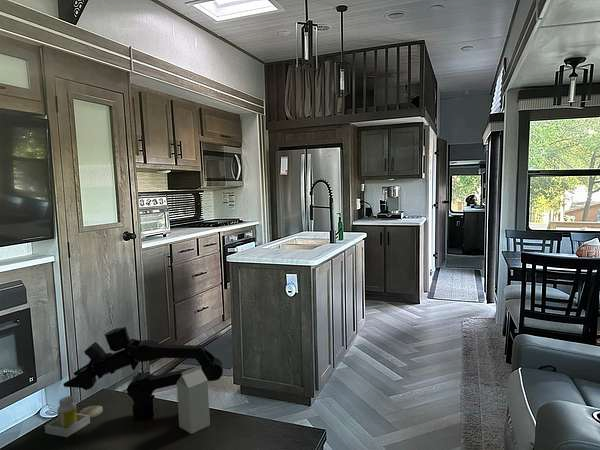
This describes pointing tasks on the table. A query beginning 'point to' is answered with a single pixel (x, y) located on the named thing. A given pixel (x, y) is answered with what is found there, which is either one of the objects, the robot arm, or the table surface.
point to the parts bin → (65, 432)
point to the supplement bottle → (67, 412)
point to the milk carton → (193, 400)
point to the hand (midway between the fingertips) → (69, 379)
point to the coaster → (92, 411)
